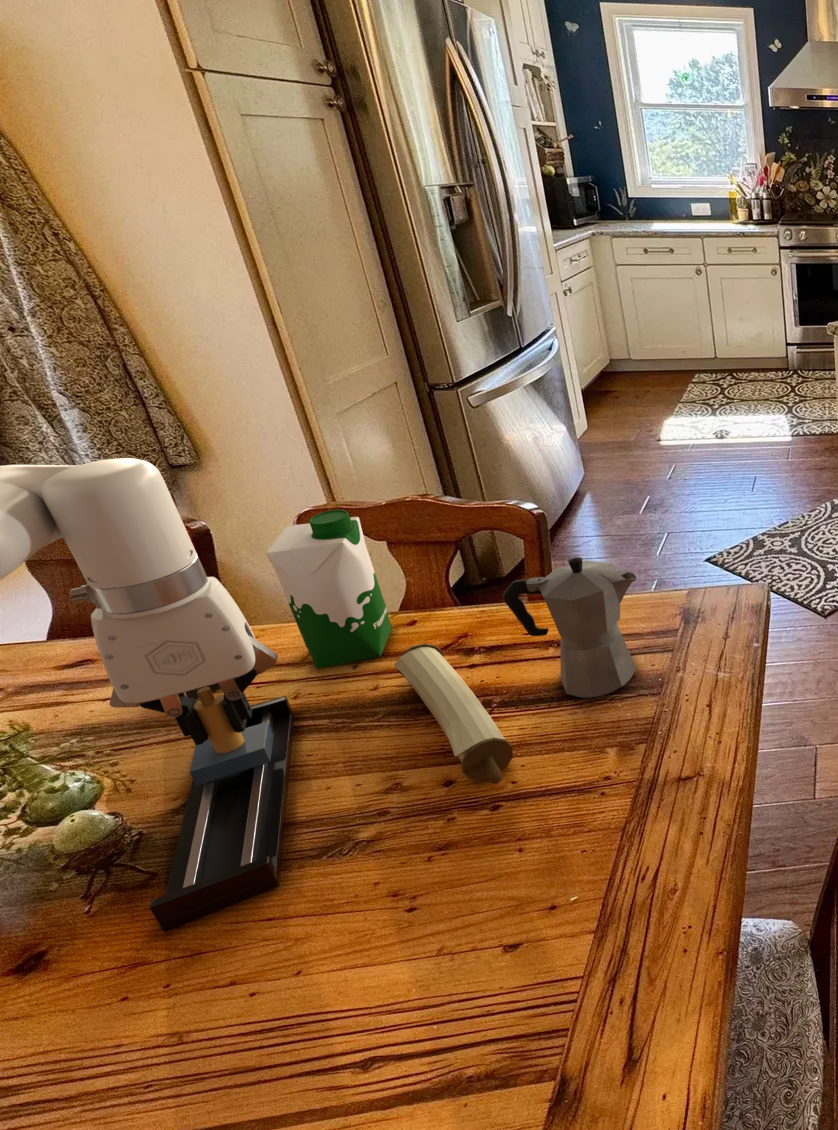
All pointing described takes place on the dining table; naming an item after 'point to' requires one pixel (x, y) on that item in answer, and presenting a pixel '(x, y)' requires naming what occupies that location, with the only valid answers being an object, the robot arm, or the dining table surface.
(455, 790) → the dining table surface
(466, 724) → the cream curved cylinder
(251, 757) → the sliding carriage
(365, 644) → the milk carton
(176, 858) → the rail
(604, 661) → the coffeepot
